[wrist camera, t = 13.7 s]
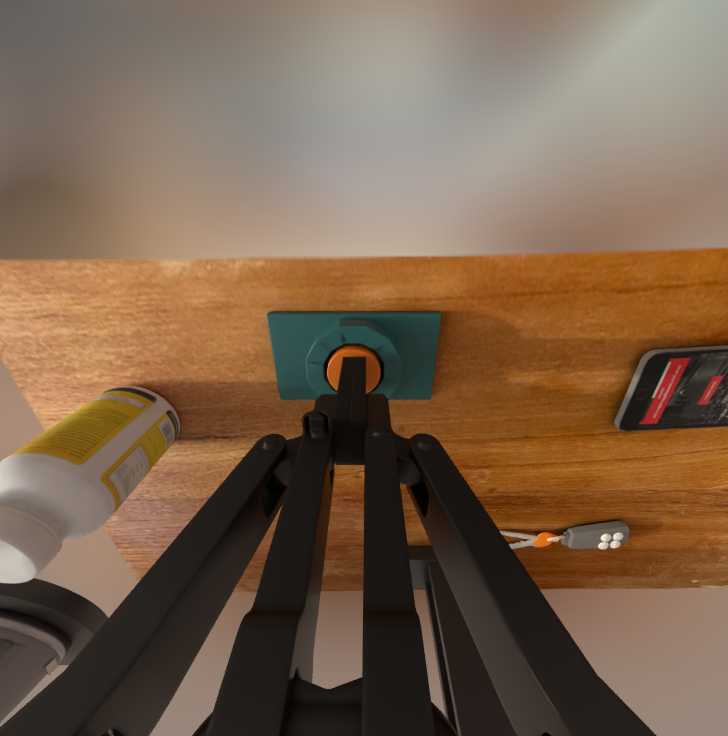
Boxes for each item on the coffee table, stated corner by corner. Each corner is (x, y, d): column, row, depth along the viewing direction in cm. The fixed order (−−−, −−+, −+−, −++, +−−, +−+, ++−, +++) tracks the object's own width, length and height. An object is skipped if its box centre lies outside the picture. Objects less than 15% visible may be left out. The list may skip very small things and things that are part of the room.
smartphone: (650, 352, 20) (870, 340, 20) (642, 348, 21) (855, 336, 21) (615, 432, 24) (803, 423, 23) (609, 426, 24) (792, 417, 24)
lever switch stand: (399, 574, 35) (426, 860, 20) (402, 545, 33) (437, 850, 17) (479, 575, 35) (572, 861, 20) (489, 546, 33) (606, 851, 17)
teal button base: (282, 395, 23) (273, 413, 21) (269, 311, 20) (257, 322, 18) (429, 395, 23) (436, 413, 21) (439, 310, 20) (448, 322, 18)
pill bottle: (87, 389, 23) (-137, 525, 13) (159, 375, 23) (-15, 507, 12) (132, 448, 26) (-20, 598, 16) (197, 438, 25) (83, 586, 15)
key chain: (623, 515, 30) (635, 528, 29) (616, 536, 32) (626, 550, 30) (498, 528, 31) (503, 542, 30) (497, 548, 33) (502, 562, 32)
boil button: (331, 384, 22) (328, 396, 20) (328, 339, 20) (325, 349, 18) (378, 384, 22) (379, 396, 20) (379, 339, 20) (381, 349, 18)
